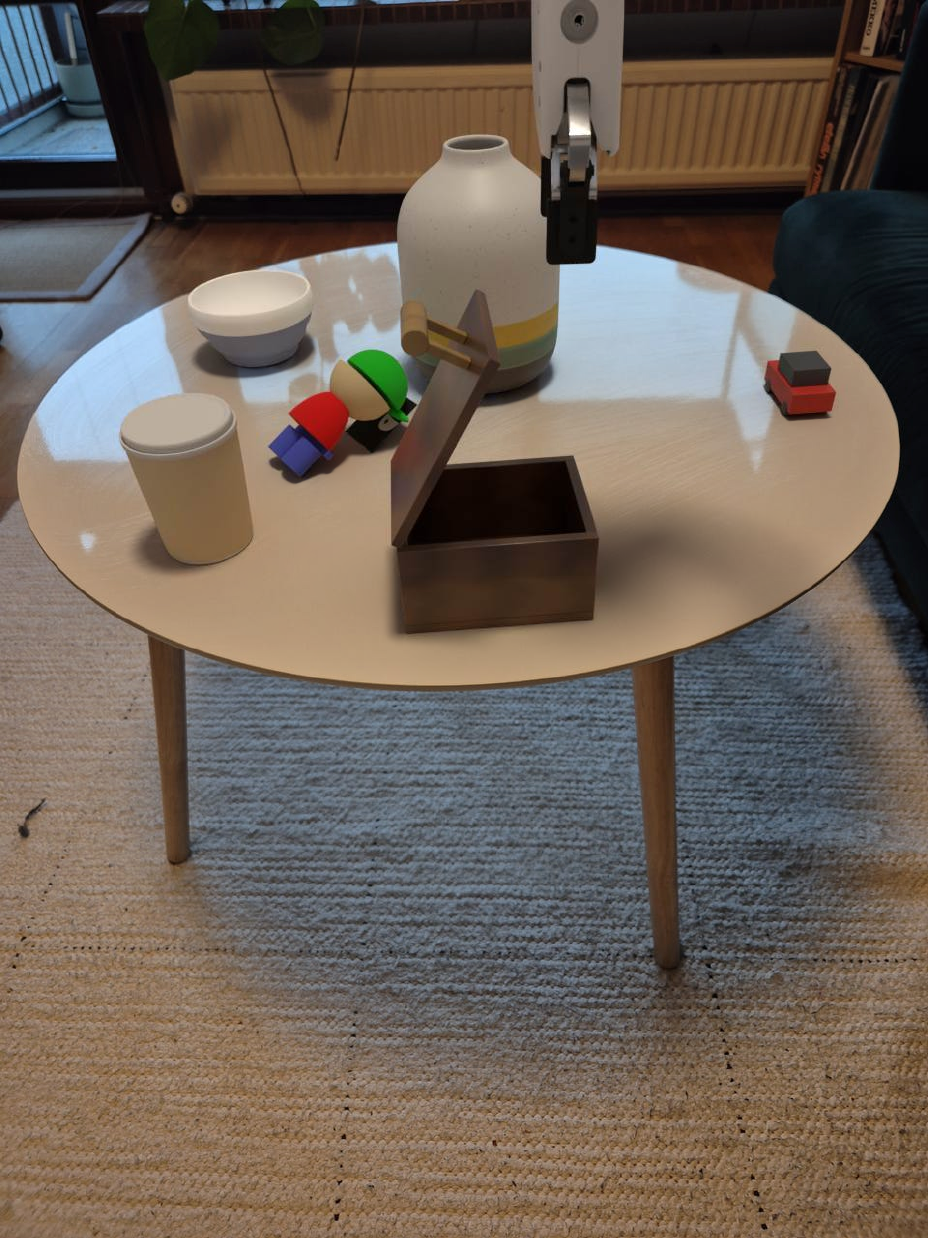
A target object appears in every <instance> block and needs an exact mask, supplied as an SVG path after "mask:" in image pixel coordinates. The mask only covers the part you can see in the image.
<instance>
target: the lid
mask: <svg viewBox="0 0 928 1238" xmlns="http://www.w3.org/2000/svg"><path fill="white" fill-rule="evenodd" d="M399 321H400V322H399V323H400V324H399V325H400V347H401V349H402V351H403V352H404V354H406V355H408V356H410V357H411V356H420V355H422V354H424V353H425V352H426V353H428V354H431V355H433V356H435V357H437V358H440V359H441V360H440V362H439V364H438V366H437V368H436V370H435V372H434V374H433V376H432V378H431V380H430V381H428V382H429V383H428V385H427V386H426V389H425V390H424V393H423V394H422V397H421V399H420V400H419V403H418V404H417V406H416V408H415V410H414V413H413V414H412V417H411V419H410V420H409V422H408V425H407V427H406V429H405V431H404V433H403V435H402V437H401V439H400V441H399V443H398V445H397V447H396V449H395V451H394V453H393V455H392V457H391V460H390V540H391V541H390V546H392V547H394V548H396V549H397V548H400V549H401V548H402V546H403V544H404V542H405V541H406V539H407V537H408V535H409V533H410V531H411V529H412V528H413V526H414V524H415V522H416V520H417V518H418V516H419V515H420V513H421V511H422V509H423V507H424V505H425V504H426V502H427V500H428V498H429V496H430V494H431V492H432V491H433V489H434V487H435V485H436V483H437V481H438V479H439V478H440V476H441V474H442V472H443V470H444V468H445V466H446V465H447V464H449V463H448V462H449V461H450V460H451V458H452V455H453V453H454V451H455V450H456V448H457V447H458V444H459V443H460V441H461V439H462V437H463V436H464V433H465V431H466V429H467V428H468V426H469V424H470V423H471V420H472V419H473V416H474V415H475V413H476V411H477V409H478V407H479V405H480V403H481V402H482V400H483V398H484V396H485V395H486V394H485V392H486V391H487V389H488V387H489V385H490V383H491V381H492V379H493V378H494V376H495V374H496V372H497V370H498V368H499V366H500V365H501V362H500V358H499V353H498V349H497V344H496V340H495V335H494V331H493V327H492V322H491V318H490V313H489V309H488V304H487V300H486V295H485V293H483V292H481V291H479V290H477V289H476V290H475V291H474V293H473V295H472V297H471V299H470V301H469V303H468V305H467V307H466V310H465V312H464V314H463V316H462V318H461V320H460V322H459V324H458V326H457V328H455V327H453V326H451V325H448V324H446V323H444V322H442V321H439V320H437V319H435V318H433V317H431V316H428V315H427V313H426V308H425V307H424V305H423V304H422V303H420V302H419V301H415V300H411V301H408V302H406V303H405V304H404V305H403V304H402V306H401V307H400V310H399ZM428 330H430V331H433V332H435V333H437V334H439V335H442V336H444V337H446V338H448V339H451V340H450V342H449V344H448V346H447V347H446V346H443V345H441V344H439V343H437V342H434V341H432V340H430V339H429V336H428Z"/></svg>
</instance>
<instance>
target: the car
mask: <svg viewBox="0 0 928 1238" xmlns="http://www.w3.org/2000/svg"><path fill="white" fill-rule="evenodd" d="M779 354H780V355H779V359H773V360H767V361H766V362H767V363H766V368H765V374H764V379H763V380H764V389H765V392H766V393H773V394H774V395H775V397H776V398H777V400H778V401H779V402H780V404H781V405H780V410H781V414H782V415H783V416H790V415H799V414H800V415H801V414H814V413H821V414H822V413H830V412H832V411H833V407H834V402H835V399H836V396H837V391H836V390H835V389H834V387H833V386H832V385H831V384H830V382H829V381H830V376H831V372H832V366H830V364H829V363H828V362H827V361H826V359H825V358H824V357H823V356H822V355H821V354H820V353H819V351H817V350H805V351H793V352H792V351H791V352H781V353H779Z"/></svg>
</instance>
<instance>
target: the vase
mask: <svg viewBox="0 0 928 1238" xmlns="http://www.w3.org/2000/svg"><path fill="white" fill-rule="evenodd" d="M540 204H541V177H539V176H538V175H537V174H536V173H535V172H534V171H532V170H531V169H529V167H527V166H526V165H524V164H523V163H522V162H520V161H519V160H518V159H517V158H516V157H514V156H513V154H512V153H511V149H510V144H509V140H508V139H507V138H505V137H503V136H500V135H494V134H466V135H460V136H456V137H452V138H449V139H447V140H446V141H444V143H443V144H442V152H441V156H440V158H439V159H438V160H437V162H436V163H435V164H434V165H432V166H431V167H430V168H429V169H428V170H427V171H426V172H425V173H423V175H421V177H419V178H418V180H416V181H415V182H414V184H413V185H412V186H411V187H410V189H409V190H408V191H407V193H406V195H405V197H404V198H403V201H402V204H401V207H400V210H399V214H398V219H397V225H396V226H397V227H396V242H397V243H396V245H397V256H398V267H399V280H400V289H401V301H402V302H401V303H402V306H403V305H404V304H405V303H406V302H408V301H411V300H415V301H419V302H420V303H422V304H423V305H424V307H425V308H426V313H427V315H428V316H431V317H433V318H435V319H437V320H439V321H442V322H444V323H446V324H448V325H451V326H453V327H455V328H457V326H458V324H459V322H460V320H461V318H462V316H463V314H464V312H465V310H466V307H467V305H468V303H469V301H470V299H471V297H472V295H473V293H474V291H475V290H476V289H477V290H479V291H481V292H483V293H485V295H486V300H487V304H488V309H489V313H490V318H491V322H492V327H493V331H494V335H495V340H496V344H497V349H498V353H499V358H500V362H501V365H500V366H499V368H498V370H497V372H496V374H495V376H494V378H493V379H492V381H491V383H490V385H489V387H488V389H487V391H486V392H485V394H484V395H486V394H495V393H502V392H507V391H510V390H513V389H517V388H520V387H522V386H524V385H526V384H528V383H531V382H532V381H533V380H535V379H536V378H537V377H539V376H540V375H541V374H542V373H543V372H544V371H545V370H546V368H547V367H548V365H549V363H550V361H551V359H552V356H553V354H554V351H555V348H556V344H557V338H558V328H559V310H560V309H559V308H560V279H561V278H560V275H561V265H550V264H548V263H547V260H546V232H547V217H543V216H542V215H541V210H540ZM428 336H429V339H430V340H432V341H434V342H437V343H439V344H441V345H443V346H446V347H447V346H448V344H449V342H450V340H451V339H448V338H446V337H444V336H442V335H439V334H437V333H435V332H433V331H430V330H428ZM410 357H411V360H412V362H413V364H414V366H415V367H416V369H417V370H418V372H419V373H420V374H421V376H422V377H423V378H424V379H426V380H427V381H428V382H430V380H431V378H432V376H433V374H434V372H435V370H436V368H437V366H438V364H439V362H440V360H441V359H440V358H437V357H435V356H433V355H431V354H428V353H426V352H425V353H424V354H422V355H420V356H410Z"/></svg>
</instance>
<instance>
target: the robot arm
mask: <svg viewBox="0 0 928 1238" xmlns="http://www.w3.org/2000/svg"><path fill="white" fill-rule="evenodd" d="M530 3H531V6H530V8H531V9H530V11H531V14H530V16H531V22H530V23H531V24H530V25H531V29H530V30H531V75H532V77H531V79H532V96H533V97H532V98H533V108H534V117H535V118H534V119H535V125H536V132H537V133H536V134H537V138H538V139H537V140H538V144H539V145H538V146H539V152H540V154H542V155H541V156H540V179H541V204H540V210H541V215H542V216H543V217H547V232H546V260H547V263H548V264H550V265H560V266H563V265H565V266H566V265H590V264H593V263H594V262H595V261H596V259H597V247H598V246H597V242H598V228H599V227H598V226H599V225H598V224H599V211H600V210H599V207H600V197H599V195H598V147H599V150H600V151H601V152H603V151H605V155H606V156H607V157H608V158H611V157H614V156H615V155H616V154H617V153H618V151H619V150H620V133H621V132H620V131H621V106H622V105H621V104H622V103H621V102H622V82H623V81H622V77H623V56H624V55H623V54H624V32H625V31H624V29H625V27H624V26H625V0H531V1H530Z"/></svg>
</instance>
